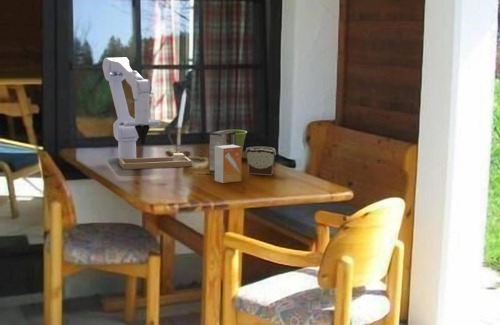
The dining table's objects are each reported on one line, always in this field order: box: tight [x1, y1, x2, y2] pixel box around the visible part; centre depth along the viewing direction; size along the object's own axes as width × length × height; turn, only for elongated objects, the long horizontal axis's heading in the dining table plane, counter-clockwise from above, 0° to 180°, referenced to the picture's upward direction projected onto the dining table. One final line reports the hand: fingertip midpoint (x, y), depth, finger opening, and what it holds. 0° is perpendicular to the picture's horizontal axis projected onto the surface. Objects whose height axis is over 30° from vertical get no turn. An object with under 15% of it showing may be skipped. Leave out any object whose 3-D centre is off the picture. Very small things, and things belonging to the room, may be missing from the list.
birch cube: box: [172, 152, 186, 161], centre depth 359 cm, size 4×4×4 cm
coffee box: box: [208, 129, 236, 175], centre depth 347 cm, size 9×6×16 cm
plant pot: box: [226, 129, 248, 158], centre depth 382 cm, size 12×12×11 cm
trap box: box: [118, 155, 193, 170], centre depth 357 cm, size 12×27×4 cm, turn 106°
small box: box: [214, 145, 242, 184], centre depth 332 cm, size 8×6×13 cm
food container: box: [244, 146, 277, 176], centre depth 348 cm, size 12×6×10 cm, turn 71°
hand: (142, 144), depth 358 cm, fingers closed
